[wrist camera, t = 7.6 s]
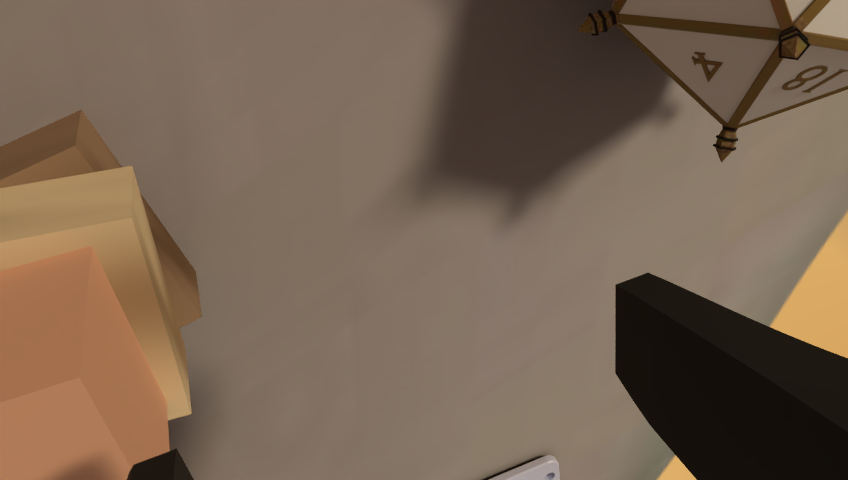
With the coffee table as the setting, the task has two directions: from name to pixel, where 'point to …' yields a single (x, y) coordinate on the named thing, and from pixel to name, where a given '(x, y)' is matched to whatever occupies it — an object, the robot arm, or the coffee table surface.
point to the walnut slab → (85, 153)
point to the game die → (739, 52)
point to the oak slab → (103, 257)
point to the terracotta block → (73, 376)
